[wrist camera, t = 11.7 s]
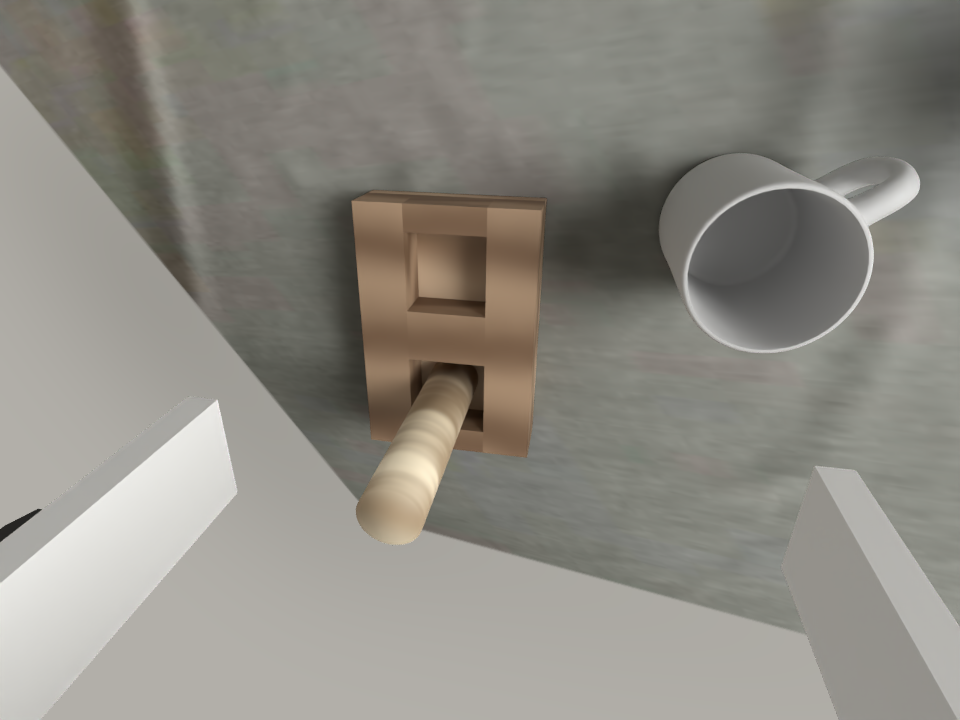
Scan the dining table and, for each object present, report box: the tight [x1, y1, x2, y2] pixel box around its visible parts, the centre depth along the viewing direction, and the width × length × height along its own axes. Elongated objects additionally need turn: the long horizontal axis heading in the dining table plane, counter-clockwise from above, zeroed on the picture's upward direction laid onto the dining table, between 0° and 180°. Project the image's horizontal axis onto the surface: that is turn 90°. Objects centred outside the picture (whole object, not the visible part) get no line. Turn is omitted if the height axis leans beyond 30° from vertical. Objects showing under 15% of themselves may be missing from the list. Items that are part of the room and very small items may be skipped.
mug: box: [659, 153, 920, 353], centre depth 31 cm, size 12×8×11 cm
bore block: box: [352, 190, 547, 458], centre depth 41 cm, size 18×12×4 cm, turn 179°
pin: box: [356, 362, 478, 545], centre depth 37 cm, size 4×4×16 cm
